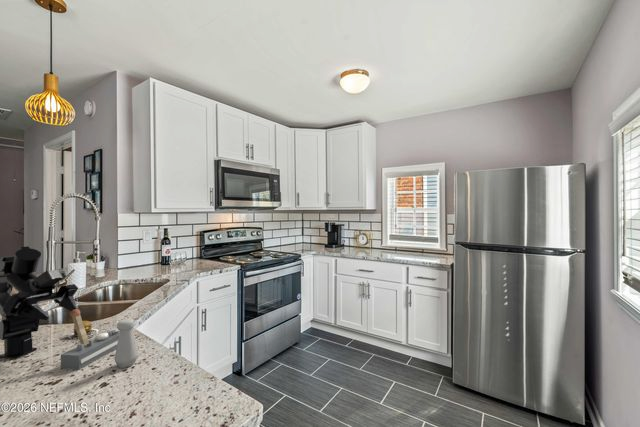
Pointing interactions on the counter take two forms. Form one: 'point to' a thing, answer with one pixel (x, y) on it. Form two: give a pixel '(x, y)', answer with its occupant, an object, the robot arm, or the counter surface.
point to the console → (89, 352)
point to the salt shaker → (126, 344)
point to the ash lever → (79, 326)
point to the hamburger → (87, 328)
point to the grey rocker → (113, 330)
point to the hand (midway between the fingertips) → (62, 314)
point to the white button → (102, 336)
